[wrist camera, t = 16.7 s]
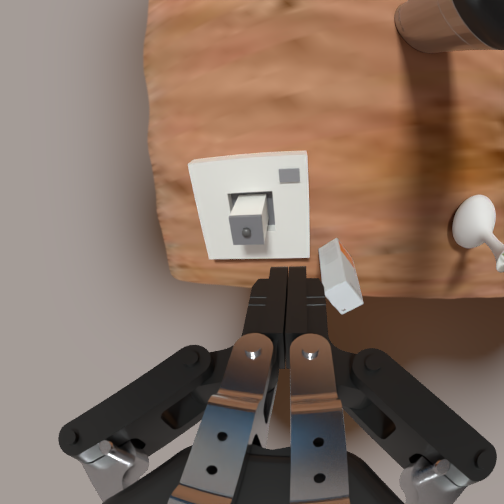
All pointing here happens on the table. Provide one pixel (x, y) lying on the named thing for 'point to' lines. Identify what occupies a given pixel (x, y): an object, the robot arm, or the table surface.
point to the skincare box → (339, 277)
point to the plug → (249, 219)
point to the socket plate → (254, 182)
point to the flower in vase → (478, 227)
